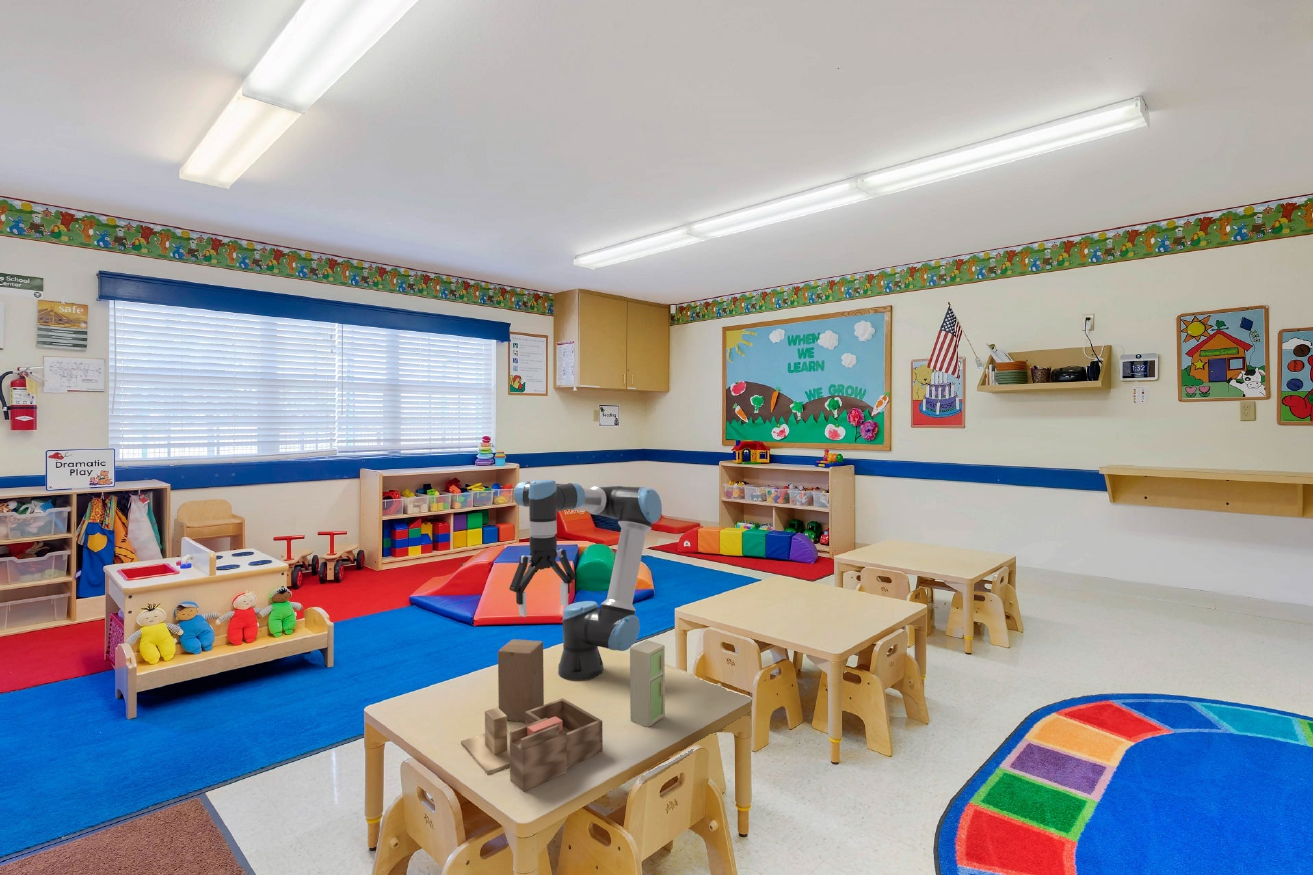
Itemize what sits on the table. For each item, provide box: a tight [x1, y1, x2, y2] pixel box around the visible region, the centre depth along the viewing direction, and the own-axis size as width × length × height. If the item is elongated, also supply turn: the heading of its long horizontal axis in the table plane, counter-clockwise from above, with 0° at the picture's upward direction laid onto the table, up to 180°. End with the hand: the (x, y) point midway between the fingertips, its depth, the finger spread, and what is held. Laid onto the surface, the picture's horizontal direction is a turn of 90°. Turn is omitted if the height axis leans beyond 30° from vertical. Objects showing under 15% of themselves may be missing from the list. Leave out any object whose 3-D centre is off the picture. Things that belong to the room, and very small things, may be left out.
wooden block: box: [497, 638, 545, 723], centre depth 183 cm, size 10×10×20 cm
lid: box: [460, 706, 510, 776], centre depth 162 cm, size 12×18×10 cm, turn 37°
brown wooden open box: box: [509, 697, 604, 792], centre depth 160 cm, size 24×20×12 cm
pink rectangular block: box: [527, 716, 562, 736], centre depth 152 cm, size 8×3×2 cm, turn 132°
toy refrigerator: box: [629, 640, 666, 728], centre depth 179 cm, size 8×7×21 cm
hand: (544, 610), depth 177 cm, fingers open, 13 cm apart
